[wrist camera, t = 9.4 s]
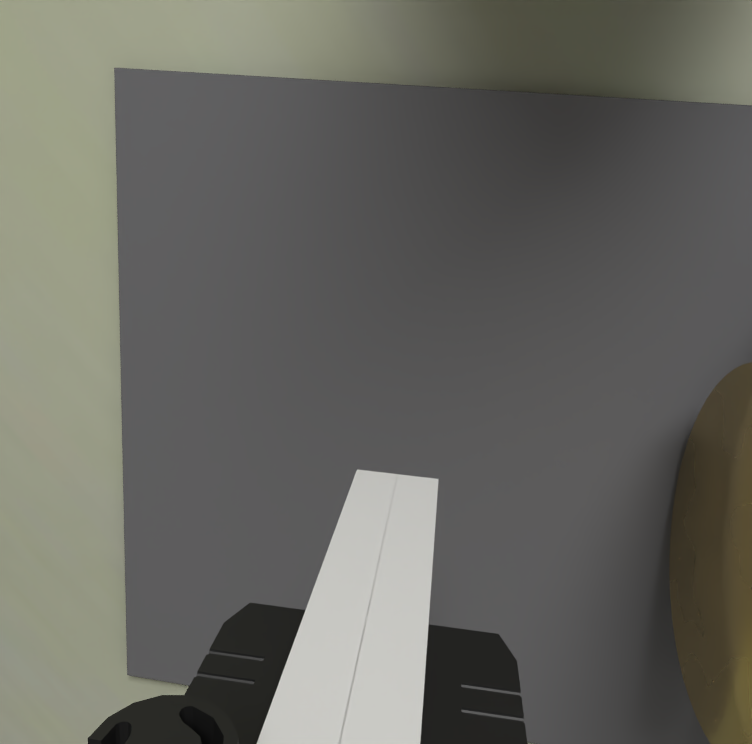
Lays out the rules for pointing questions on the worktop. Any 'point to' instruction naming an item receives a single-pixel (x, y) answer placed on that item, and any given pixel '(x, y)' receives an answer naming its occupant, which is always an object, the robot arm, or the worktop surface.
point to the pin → (716, 562)
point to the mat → (427, 360)
